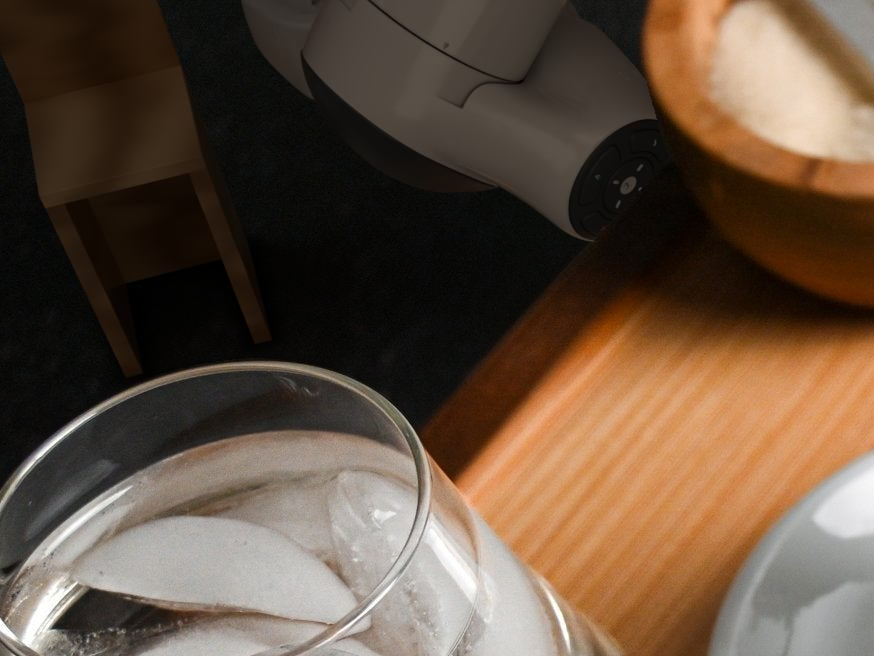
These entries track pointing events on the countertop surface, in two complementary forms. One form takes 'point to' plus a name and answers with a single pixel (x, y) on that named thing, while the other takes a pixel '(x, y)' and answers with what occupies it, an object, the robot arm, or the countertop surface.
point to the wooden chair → (122, 155)
